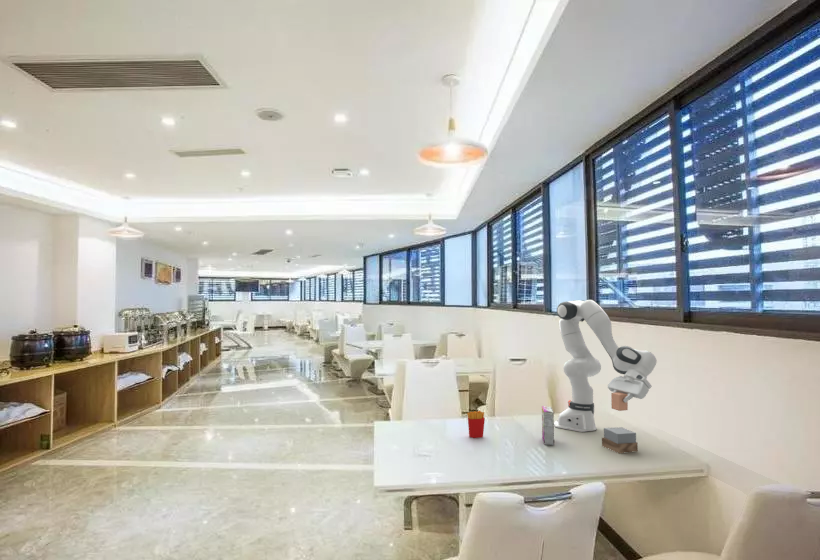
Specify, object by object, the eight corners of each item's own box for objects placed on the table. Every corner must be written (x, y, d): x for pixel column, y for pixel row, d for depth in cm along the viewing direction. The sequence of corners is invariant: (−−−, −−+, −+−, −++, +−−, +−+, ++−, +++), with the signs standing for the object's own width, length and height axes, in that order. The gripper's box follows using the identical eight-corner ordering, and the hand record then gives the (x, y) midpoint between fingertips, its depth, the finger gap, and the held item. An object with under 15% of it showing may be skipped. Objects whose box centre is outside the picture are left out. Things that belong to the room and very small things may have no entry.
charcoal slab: (617, 443, 206) (617, 434, 206) (603, 437, 216) (603, 428, 216) (636, 442, 208) (635, 432, 208) (621, 436, 218) (621, 427, 218)
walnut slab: (619, 454, 205) (619, 444, 205) (601, 446, 215) (601, 437, 215) (637, 452, 208) (637, 442, 209) (619, 444, 219) (619, 435, 219)
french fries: (482, 434, 231) (482, 409, 231) (485, 437, 227) (485, 411, 227) (465, 435, 229) (466, 410, 229) (468, 438, 224) (469, 412, 225)
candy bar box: (541, 438, 227) (541, 405, 228) (551, 438, 226) (551, 406, 227) (543, 444, 216) (543, 411, 217) (554, 445, 215) (554, 411, 216)
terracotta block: (619, 410, 210) (619, 395, 210) (611, 408, 215) (611, 392, 215) (627, 410, 211) (627, 394, 212) (619, 407, 216) (619, 392, 217)
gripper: (614, 371, 226) (599, 391, 222) (647, 378, 207) (631, 400, 203) (621, 379, 227) (606, 400, 223) (654, 387, 208) (639, 409, 204)
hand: (618, 400), depth 213 cm, fingers closed on terracotta block, 5 cm apart
